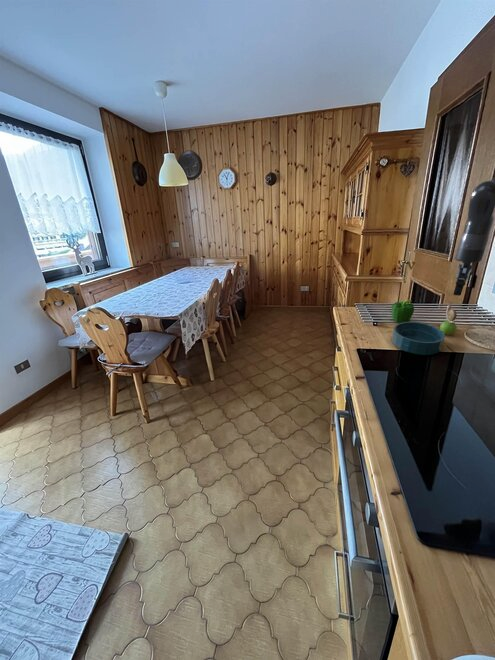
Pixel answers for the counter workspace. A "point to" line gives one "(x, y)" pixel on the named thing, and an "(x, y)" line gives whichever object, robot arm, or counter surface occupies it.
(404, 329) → the bowl
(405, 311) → the bell pepper
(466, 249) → the robot arm
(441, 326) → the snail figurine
